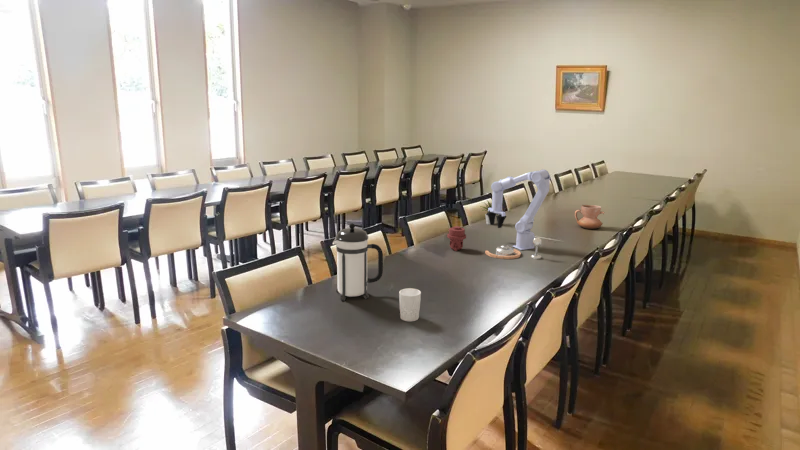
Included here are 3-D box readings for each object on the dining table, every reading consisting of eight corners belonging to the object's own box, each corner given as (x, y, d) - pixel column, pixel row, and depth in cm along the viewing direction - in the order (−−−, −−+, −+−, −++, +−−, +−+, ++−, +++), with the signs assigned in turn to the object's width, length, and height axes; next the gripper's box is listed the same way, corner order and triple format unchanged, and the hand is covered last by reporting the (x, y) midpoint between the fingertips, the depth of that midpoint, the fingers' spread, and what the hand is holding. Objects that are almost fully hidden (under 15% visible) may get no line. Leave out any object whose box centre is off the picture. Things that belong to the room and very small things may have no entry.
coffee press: (358, 305, 198) (358, 230, 191) (326, 297, 206) (325, 224, 199) (383, 292, 212) (384, 221, 205) (352, 284, 220) (352, 216, 213)
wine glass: (530, 256, 266) (532, 235, 264) (540, 256, 265) (542, 236, 263) (531, 258, 262) (532, 238, 259) (541, 259, 261) (542, 239, 258)
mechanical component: (466, 247, 280) (464, 252, 271) (447, 246, 282) (445, 251, 272) (467, 225, 277) (465, 229, 268) (448, 224, 279) (446, 228, 270)
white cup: (397, 313, 191) (398, 288, 189) (418, 313, 192) (419, 288, 189) (399, 322, 183) (400, 296, 181) (421, 322, 184) (422, 295, 182)
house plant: (485, 220, 347) (487, 196, 343) (504, 223, 339) (506, 198, 336) (475, 223, 336) (477, 199, 332) (495, 227, 328) (496, 201, 324)
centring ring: (511, 249, 277) (511, 247, 277) (527, 256, 265) (527, 254, 265) (483, 252, 270) (483, 250, 270) (498, 260, 258) (498, 258, 258)
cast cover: (507, 251, 274) (507, 242, 273) (516, 256, 266) (517, 247, 264) (492, 253, 270) (493, 244, 269) (501, 258, 262) (502, 248, 261)
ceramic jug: (604, 227, 333) (606, 205, 330) (601, 231, 321) (603, 209, 318) (575, 224, 341) (577, 203, 338) (571, 228, 329) (573, 206, 326)
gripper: (484, 200, 291) (482, 223, 294) (498, 205, 278) (497, 229, 281) (494, 199, 294) (493, 223, 297) (509, 204, 281) (507, 228, 284)
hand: (495, 226), depth 289 cm, fingers open, 7 cm apart
